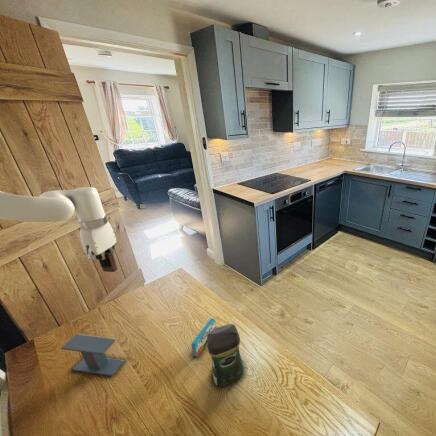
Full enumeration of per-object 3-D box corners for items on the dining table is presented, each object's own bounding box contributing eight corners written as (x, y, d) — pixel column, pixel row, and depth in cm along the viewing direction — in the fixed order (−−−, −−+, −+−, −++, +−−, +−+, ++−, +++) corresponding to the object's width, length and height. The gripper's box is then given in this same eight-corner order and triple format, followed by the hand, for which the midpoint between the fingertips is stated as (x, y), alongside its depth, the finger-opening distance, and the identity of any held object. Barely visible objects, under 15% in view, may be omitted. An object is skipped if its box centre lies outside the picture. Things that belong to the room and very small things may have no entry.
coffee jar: (239, 356, 82) (235, 317, 75) (246, 377, 76) (242, 336, 69) (210, 369, 78) (203, 328, 71) (215, 392, 72) (208, 350, 64)
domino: (103, 271, 92) (96, 253, 89) (107, 268, 94) (100, 251, 90) (114, 272, 92) (108, 254, 88) (117, 269, 93) (112, 251, 90)
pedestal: (73, 371, 77) (60, 347, 72) (87, 356, 81) (76, 334, 77) (112, 377, 75) (102, 353, 71) (124, 362, 80) (115, 339, 76)
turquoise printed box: (213, 329, 93) (211, 317, 90) (216, 330, 93) (214, 318, 90) (193, 356, 82) (190, 344, 80) (197, 357, 82) (194, 345, 79)
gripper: (101, 213, 92) (115, 253, 99) (62, 231, 77) (81, 277, 85) (120, 214, 91) (132, 254, 99) (84, 232, 77) (101, 278, 84)
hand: (108, 264), depth 92 cm, fingers closed on domino, 2 cm apart
